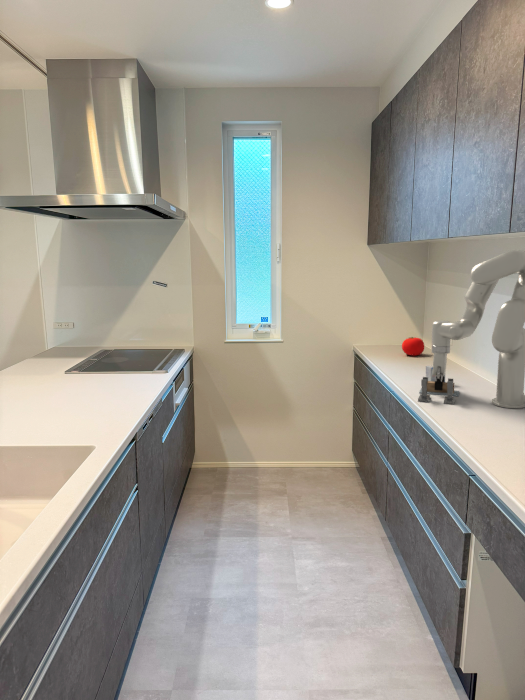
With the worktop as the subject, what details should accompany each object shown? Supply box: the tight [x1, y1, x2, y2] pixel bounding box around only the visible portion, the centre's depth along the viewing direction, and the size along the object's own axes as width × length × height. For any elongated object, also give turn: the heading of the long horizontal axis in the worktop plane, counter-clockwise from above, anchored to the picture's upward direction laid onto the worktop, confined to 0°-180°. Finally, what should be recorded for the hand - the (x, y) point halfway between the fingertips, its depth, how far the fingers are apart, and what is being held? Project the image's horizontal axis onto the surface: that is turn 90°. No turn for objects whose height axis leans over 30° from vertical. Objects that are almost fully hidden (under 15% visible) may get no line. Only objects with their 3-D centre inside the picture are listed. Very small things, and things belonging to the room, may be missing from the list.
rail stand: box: [417, 376, 456, 405], centre depth 198 cm, size 14×8×9 cm, turn 66°
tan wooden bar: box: [427, 381, 455, 393], centre depth 210 cm, size 12×3×4 cm, turn 65°
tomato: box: [401, 336, 425, 357], centre depth 295 cm, size 12×14×11 cm
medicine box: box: [425, 365, 447, 382], centre depth 225 cm, size 8×4×9 cm, turn 105°
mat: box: [418, 387, 460, 397], centre depth 210 cm, size 16×8×1 cm, turn 66°
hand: (439, 387), depth 210 cm, fingers open, 9 cm apart
